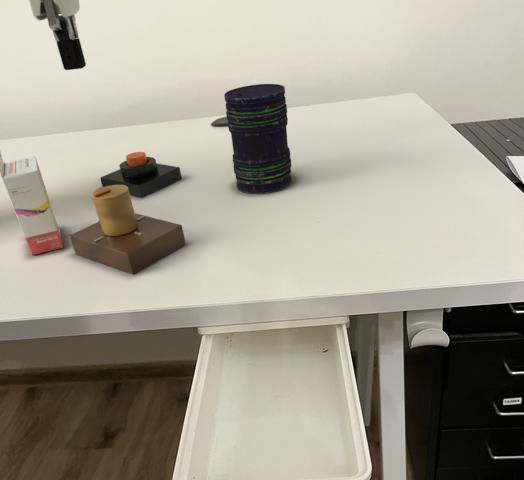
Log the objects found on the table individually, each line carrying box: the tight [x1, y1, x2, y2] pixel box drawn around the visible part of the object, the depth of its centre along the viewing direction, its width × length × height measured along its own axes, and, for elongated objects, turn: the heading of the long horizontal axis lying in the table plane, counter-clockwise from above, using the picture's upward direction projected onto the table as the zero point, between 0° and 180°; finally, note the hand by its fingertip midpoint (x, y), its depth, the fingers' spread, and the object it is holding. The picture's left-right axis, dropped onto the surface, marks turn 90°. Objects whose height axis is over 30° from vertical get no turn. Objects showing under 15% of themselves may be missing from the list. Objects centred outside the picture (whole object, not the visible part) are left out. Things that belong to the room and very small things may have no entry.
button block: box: [99, 156, 183, 199], centre depth 101 cm, size 11×10×4 cm
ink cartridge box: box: [0, 151, 64, 256], centre depth 81 cm, size 9×5×15 cm, turn 22°
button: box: [125, 151, 148, 167], centre depth 100 cm, size 4×4×2 cm
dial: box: [91, 185, 138, 236], centre depth 77 cm, size 5×5×6 cm
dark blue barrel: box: [223, 83, 293, 195], centre depth 91 cm, size 10×10×15 cm
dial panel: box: [69, 212, 186, 275], centre depth 79 cm, size 13×10×3 cm
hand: (75, 68), depth 88 cm, fingers closed
